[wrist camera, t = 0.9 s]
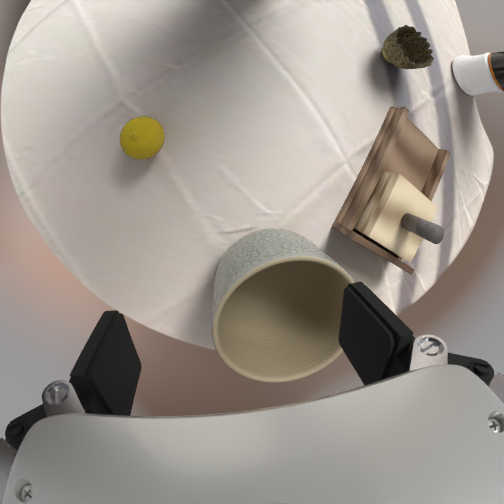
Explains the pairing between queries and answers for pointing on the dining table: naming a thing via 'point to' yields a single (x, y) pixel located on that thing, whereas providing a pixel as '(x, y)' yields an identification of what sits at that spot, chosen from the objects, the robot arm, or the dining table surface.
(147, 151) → the lemon
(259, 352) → the planter
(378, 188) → the drawer front with knob
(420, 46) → the olive hollow rounded container
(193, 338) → the dining table surface
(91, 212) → the dining table surface
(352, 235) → the bay
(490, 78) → the vodka
